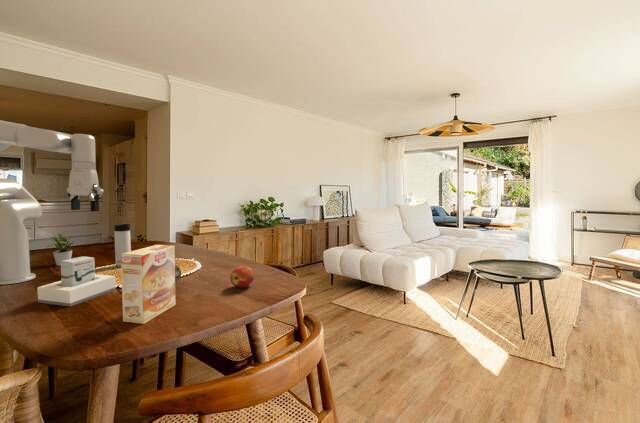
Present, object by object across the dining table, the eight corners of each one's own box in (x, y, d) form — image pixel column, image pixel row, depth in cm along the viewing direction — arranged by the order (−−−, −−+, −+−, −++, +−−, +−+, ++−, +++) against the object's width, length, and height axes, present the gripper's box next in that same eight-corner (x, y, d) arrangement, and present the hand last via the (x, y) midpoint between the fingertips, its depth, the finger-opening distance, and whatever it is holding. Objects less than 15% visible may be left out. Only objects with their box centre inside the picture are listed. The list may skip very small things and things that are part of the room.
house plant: (32, 267, 146) (29, 231, 145) (61, 260, 160) (59, 227, 159) (58, 268, 144) (56, 232, 143) (86, 261, 158) (84, 228, 156)
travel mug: (120, 268, 147) (118, 224, 145) (113, 266, 150) (111, 223, 148) (134, 265, 152) (133, 223, 150) (126, 263, 155) (125, 222, 154)
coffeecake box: (144, 324, 90) (142, 255, 88) (121, 322, 91) (119, 253, 89) (177, 304, 104) (175, 245, 103) (157, 303, 105) (155, 244, 104)
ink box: (73, 297, 106) (71, 262, 105) (61, 296, 107) (59, 261, 106) (96, 289, 115) (95, 256, 114) (85, 288, 116) (83, 255, 115)
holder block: (38, 302, 104) (37, 287, 104) (87, 286, 121) (86, 273, 120) (70, 306, 101) (69, 290, 101) (116, 289, 118) (115, 276, 117)
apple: (226, 288, 121) (226, 267, 121) (242, 282, 129) (242, 262, 128) (243, 291, 118) (243, 270, 117) (258, 285, 125) (258, 265, 124)
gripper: (57, 165, 124) (58, 209, 126) (92, 166, 120) (93, 212, 121) (76, 166, 132) (77, 208, 133) (110, 167, 127) (111, 210, 129)
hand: (85, 210), depth 127 cm, fingers open, 9 cm apart
